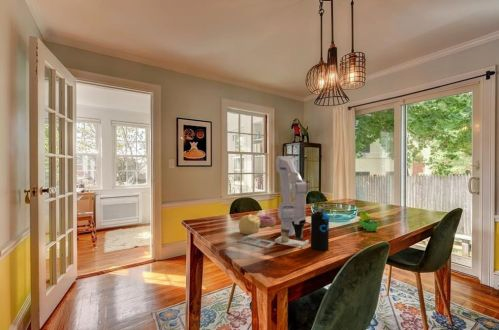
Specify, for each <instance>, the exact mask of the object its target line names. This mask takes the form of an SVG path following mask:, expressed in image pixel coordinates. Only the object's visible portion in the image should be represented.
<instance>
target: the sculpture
mask: <svg viewBox="0 0 499 330" xmlns="http://www.w3.org/2000/svg"><path fill="white" fill-rule="evenodd" d="M259 226H260V218H259V217H257V215H254V214H251V213H249V214H246V215H243V216H242V217H241V218H240V219H239V221H238V229H239V232H240V233H241V234H243V235H247V236H250V235H252V234H256V233H259V231H260V228H261V227H259Z"/></svg>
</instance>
